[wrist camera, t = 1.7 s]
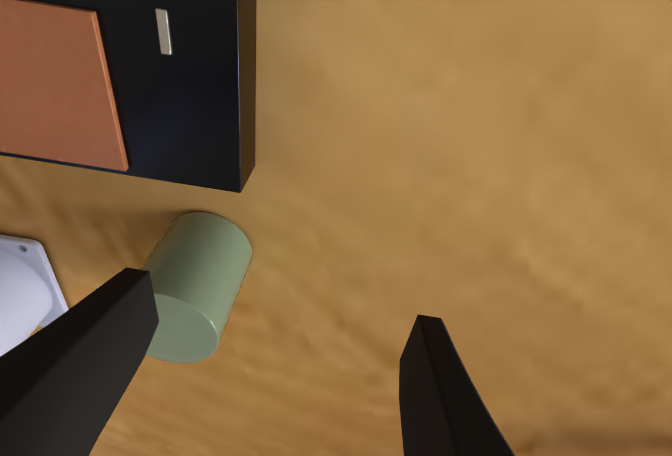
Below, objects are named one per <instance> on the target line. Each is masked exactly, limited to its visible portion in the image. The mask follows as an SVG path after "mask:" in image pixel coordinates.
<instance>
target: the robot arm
mask: <svg viewBox="0 0 672 456" xmlns="http://www.w3.org/2000/svg"><path fill="white" fill-rule="evenodd" d="M158 324H159V317H158V312H157V307H156V302H155V297H154V292H153V287H152V282H151V277H150V272H149V271H145V270H139V269H133V268H127V267H126V268H125V269H123V270H122V271H121V272H119V273H118V274H117V275H115V276H114V277H112V278H111V279H110V280H108V281H107V282H106V283H104V284H103V285H102V286H100V287H99V288H98V289H96V290H95V291H94V292H92V293H91V294H90V295H88V296H87V297H85V298H84V299H83V300H81V301H80V302H79V303H77V304H76V305H75V306H73V307H72V308H70V309H68V306H67V304H66V301H65V299H64V297H63V294H62V292H61V289H60V287H59V285H58V282H57V280H56V277H55V275H54V272H53V270H52V268H51V265H50V263H49V260H48V258H47V256H46V253H45V251H44V248H43V246H42V245H41V244H40V243H39V242H38V241H36V240H32V239H26V238H20V237H13V236H7V235H1V234H0V456H89V454H90V452H91V450H92V448H93V446H94V444H95V442H96V441H97V439H98V437H99V435H100V433H101V432H102V430H103V428H104V426H105V425H106V423H107V421H108V420H109V418H110V416H111V414H112V413H113V411H114V409H115V407H116V406H117V404H118V402H119V401H120V399H121V397H122V395H123V394H124V392H125V390H126V388H127V387H128V385H129V383H130V382H131V380H132V378H133V376H134V374H135V373H136V371H137V369H138V367H139V366H140V364H141V362H142V360H143V359H144V357H145V354H146V352H147V350H148V348H149V345H150V343H151V341H152V338H153V336H154V333H155V331H156V328H157V326H158ZM37 326H39V327H44V328H42V329H41V330H40V331H38V332H37V333H35V334H34V335H32V336H31V337H29V338H28V336H29V335H30V334H31V333H32V332H33V331H34V329H35V328H36V327H37ZM27 338H28V339H27ZM399 403H400V415H401V426H402V438H403V449H404V456H515V454H514V453H513V451H512V450H511V448H510V447H509V445H508V443H507V442H506V440H505V439H504V437H503V435H502V434H501V432H500V430H499V429H498V427H497V425H496V424H495V422H494V420H493V419H492V417H491V415H490V413H489V412H488V410H487V408H486V406H485V405H484V403H483V401H482V399H481V397H480V395H479V394H478V392H477V390H476V388H475V386H474V384H473V382H472V381H471V379H470V377H469V375H468V373H467V371H466V369H465V367H464V365H463V363H462V361H461V359H460V357H459V355H458V353H457V351H456V349H455V346H454V344H453V342H452V340H451V338H450V336H449V334H448V331H447V329H446V327H445V325H444V322H443V321H442V319H441V318H437V317H430V316H424V315H418V316H417V318H416V321H415V323H414V326H413V328H412V331H411V333H410V336H409V338H408V341H407V343H406V346H405V348H404V351H403V353H402V356H401V358H400V374H399Z"/></svg>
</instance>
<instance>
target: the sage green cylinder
mask: <svg viewBox="0 0 672 456" xmlns="http://www.w3.org/2000/svg"><path fill="white" fill-rule="evenodd" d="M251 259H252V249H251V245H250V243H249V240H248V239H247V237H246V235H245V234H244V233H243V232H242V231H241V229H240V228H238V227H237V226H236V225H235V224H233V223H232V222H231V221H229V220H227V219H225V218H223V217H221V216H218V215H215V214H211V213H206V212H192V213H187V214H184V215H182V216H179V217H178V218H176V219H175V220H174V221H173V222H172V223H171V224H170V226H169V227H168V229H167V230H166V232H165V233H164V234H163V236H162V237H161V239H160V240H159V241H158V243H157V244H156V246H155V247H154V248H153V250H152V251H151V253H150V254H149V256H148V257H147V258H146V260H145V261H144V263H143V264H142V265H141V267H140V268H139V270H145V271H149V272H150V277H151V282H152V287H153V292H154V297H155V302H156V307H157V312H158V317H159V324H158V326H157V328H156V331H155V333H154V336H153V338H152V341H151V343H150V345H149V348H148V350H147V352H146V355H148V356H151V357H154V358H156V359H160V360H163V361H168V362H174V363H193V362H198V361H201V360H204V359H206V358H208V357H210V356H211V355H212V354H213V353H214V352H215V351H216V349H217V347H218V345H219V342H220V340H221V337H222V335H223V332H224V329H225V327H226V324H227V322H228V319H229V316H230V314H231V311H232V309H233V306H234V304H235V301H236V298H237V296H238V293H239V291H240V288H241V286H242V283H243V280H244V278H245V275H246V273H247V270H248V267H249V265H250V262H251Z"/></svg>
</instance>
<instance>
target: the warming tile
mask: <svg viewBox="0 0 672 456" xmlns="http://www.w3.org/2000/svg"><path fill="white" fill-rule="evenodd" d="M0 152H7V153H13V154H19V155H26V156H32V157H38V158H45V159H51V160H57V161H64V162H70V163H76V164H82V165H89V166H95V167H101V168H108V169H114V170H120V171H126V170H127V169H128V168H129V167H128V162H127V158H126V153H125V148H124V143H123V139H122V134H121V129H120V124H119V119H118V115H117V110H116V105H115V100H114V96H113V91H112V86H111V81H110V77H109V72H108V67H107V62H106V58H105V53H104V48H103V43H102V39H101V34H100V29H99V24H98V20H97V15H96V11H92V10H86V9H80V8H74V7H68V6H61V5H55V4H49V3H43V2H37V1H30V0H0Z"/></svg>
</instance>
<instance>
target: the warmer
mask: <svg viewBox="0 0 672 456" xmlns="http://www.w3.org/2000/svg"><path fill="white" fill-rule="evenodd" d="M30 1H37V2H43V3H49V4H55V5H61V6H68V7H74V8H80V9H86V10H92V11H96V15H97V20H98V24H99V29H100V34H101V39H102V43H103V48H104V53H105V58H106V62H107V67H108V72H109V77H110V81H111V86H112V91H113V96H114V100H115V105H116V110H117V115H118V119H119V124H120V129H121V134H122V139H123V143H124V148H125V153H126V158H127V162H128V167H129V168H128V169H127V170H126V171H120V170H114V169H108V168H101V167H95V166H89V165H82V164H76V163H70V162H64V161H57V160H51V159H45V158H38V157H32V156H26V155H19V154H13V153H7V152H0V155H4V156H10V157H17V158H23V159H29V160H35V161H42V162H48V163H54V164H61V165H67V166H73V167H80V168H86V169H92V170H99V171H105V172H111V173H118V174H124V175H130V176H137V177H143V178H149V179H156V180H162V181H168V182H175V183H181V184H187V185H194V186H200V187H206V188H213V189H219V190H225V191H232V192H238V193H241V191H242V189H243V188H244V186H245V184H246V182H247V180H248V178H249V176H250V174H251V172H252V170H253V169H254V167H255V101H256V0H30Z"/></svg>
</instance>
